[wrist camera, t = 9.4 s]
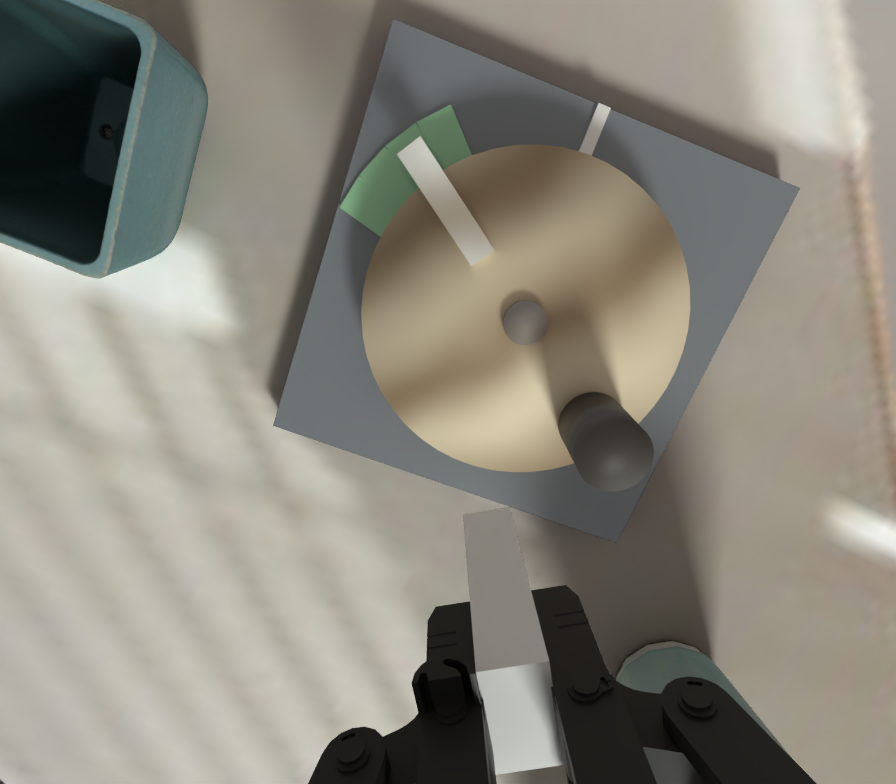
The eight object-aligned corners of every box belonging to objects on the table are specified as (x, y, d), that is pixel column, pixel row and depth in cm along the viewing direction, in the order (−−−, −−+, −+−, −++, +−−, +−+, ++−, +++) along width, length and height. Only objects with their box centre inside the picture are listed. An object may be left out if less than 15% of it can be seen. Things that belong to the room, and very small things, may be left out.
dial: (286, 250, 26) (239, 255, 21) (553, 46, 24) (584, -12, 18) (479, 507, 30) (485, 572, 24) (728, 355, 28) (800, 388, 22)
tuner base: (281, 416, 31) (271, 426, 29) (396, 30, 25) (392, 17, 24) (608, 528, 32) (617, 544, 31) (781, 190, 27) (802, 187, 25)
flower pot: (209, 268, 28) (102, 284, 20) (39, 202, 28) (-149, 189, 19) (255, 92, 26) (158, 24, 18) (71, 14, 25) (-126, -97, 17)
